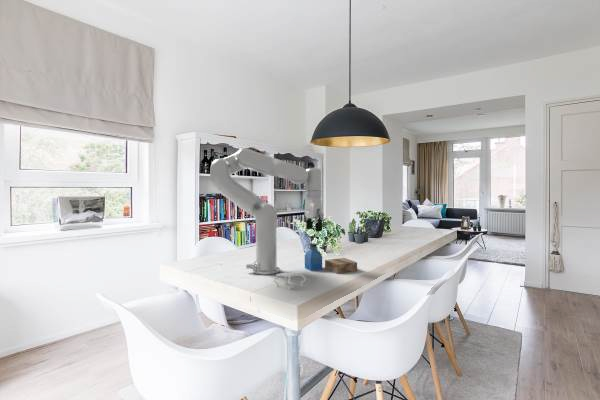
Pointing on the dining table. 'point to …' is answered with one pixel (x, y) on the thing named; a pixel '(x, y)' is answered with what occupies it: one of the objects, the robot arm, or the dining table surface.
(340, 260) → the walnut block
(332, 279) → the dining table surface
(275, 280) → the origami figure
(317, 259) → the perfume bottle
